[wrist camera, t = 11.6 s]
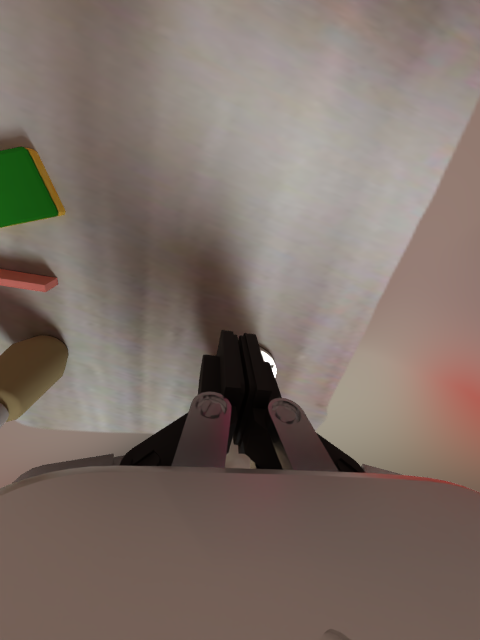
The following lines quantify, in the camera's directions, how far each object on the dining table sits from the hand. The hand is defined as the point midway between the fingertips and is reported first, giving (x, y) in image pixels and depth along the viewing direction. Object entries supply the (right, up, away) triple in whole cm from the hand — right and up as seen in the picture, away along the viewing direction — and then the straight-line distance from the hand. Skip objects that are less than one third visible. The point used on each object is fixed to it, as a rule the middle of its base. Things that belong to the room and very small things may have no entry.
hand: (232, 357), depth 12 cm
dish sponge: (-29, +17, +18) cm, 39 cm away
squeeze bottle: (-31, -3, +29) cm, 42 cm away
